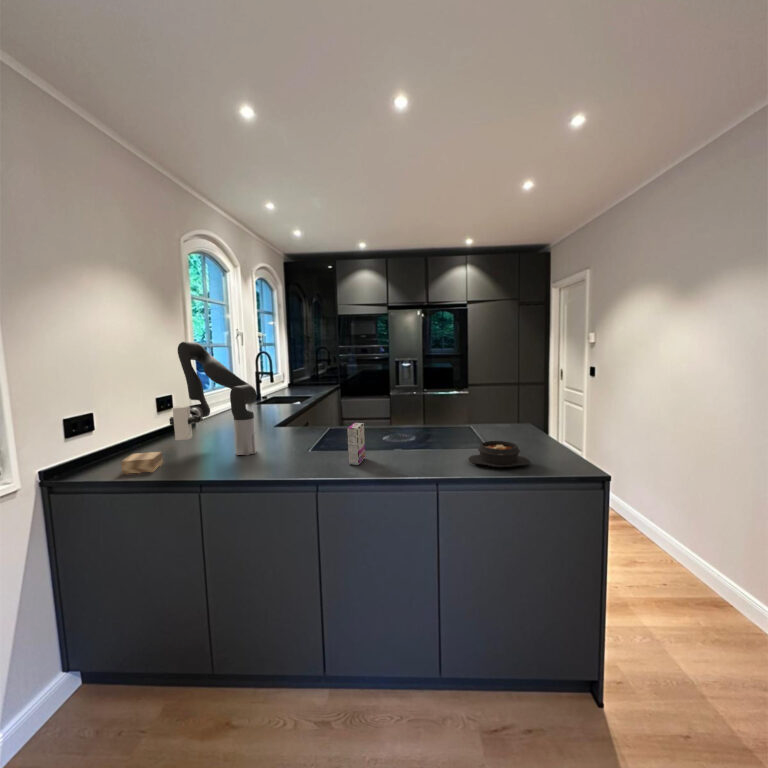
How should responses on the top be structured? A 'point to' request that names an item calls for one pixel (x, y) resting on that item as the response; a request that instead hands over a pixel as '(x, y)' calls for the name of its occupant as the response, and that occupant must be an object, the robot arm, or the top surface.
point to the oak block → (142, 462)
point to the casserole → (498, 455)
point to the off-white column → (182, 422)
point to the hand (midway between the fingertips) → (181, 422)
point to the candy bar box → (356, 442)
